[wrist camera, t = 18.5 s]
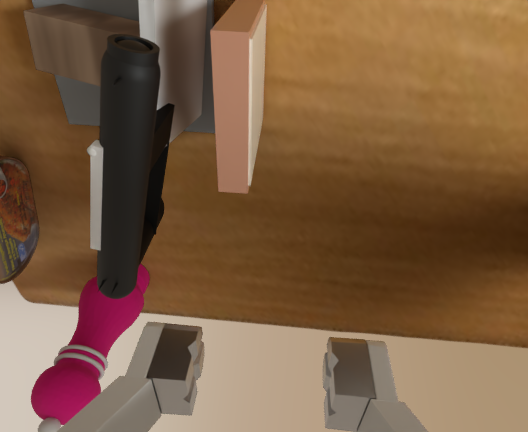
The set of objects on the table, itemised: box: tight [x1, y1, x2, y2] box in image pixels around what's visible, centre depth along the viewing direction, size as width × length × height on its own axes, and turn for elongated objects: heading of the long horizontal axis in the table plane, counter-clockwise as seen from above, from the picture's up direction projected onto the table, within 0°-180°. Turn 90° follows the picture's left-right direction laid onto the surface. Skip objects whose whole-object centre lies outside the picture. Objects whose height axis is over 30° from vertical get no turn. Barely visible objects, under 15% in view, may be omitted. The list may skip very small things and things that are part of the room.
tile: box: [210, 0, 267, 194], centre depth 27 cm, size 2×10×12 cm, turn 179°
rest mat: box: [32, 0, 215, 133], centre depth 31 cm, size 14×14×1 cm
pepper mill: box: [31, 264, 150, 432], centre depth 41 cm, size 7×7×20 cm
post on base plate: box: [24, 0, 207, 147], centre depth 28 cm, size 8×10×11 cm
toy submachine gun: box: [87, 34, 175, 299], centre depth 29 cm, size 3×20×16 cm, turn 164°
